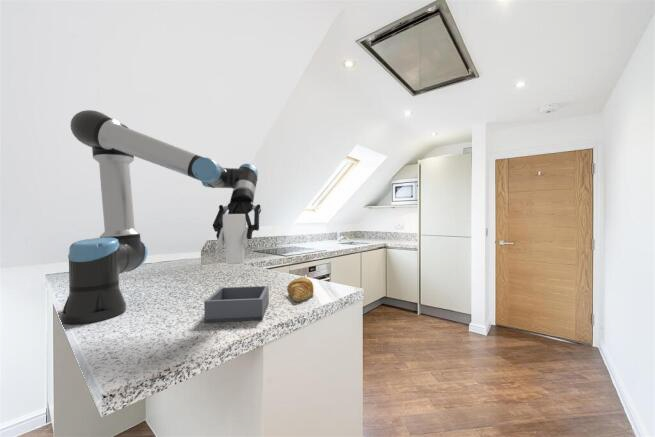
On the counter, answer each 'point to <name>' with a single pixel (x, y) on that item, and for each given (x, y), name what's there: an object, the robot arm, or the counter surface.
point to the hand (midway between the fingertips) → (231, 246)
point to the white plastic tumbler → (234, 237)
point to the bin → (237, 304)
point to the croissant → (300, 289)
